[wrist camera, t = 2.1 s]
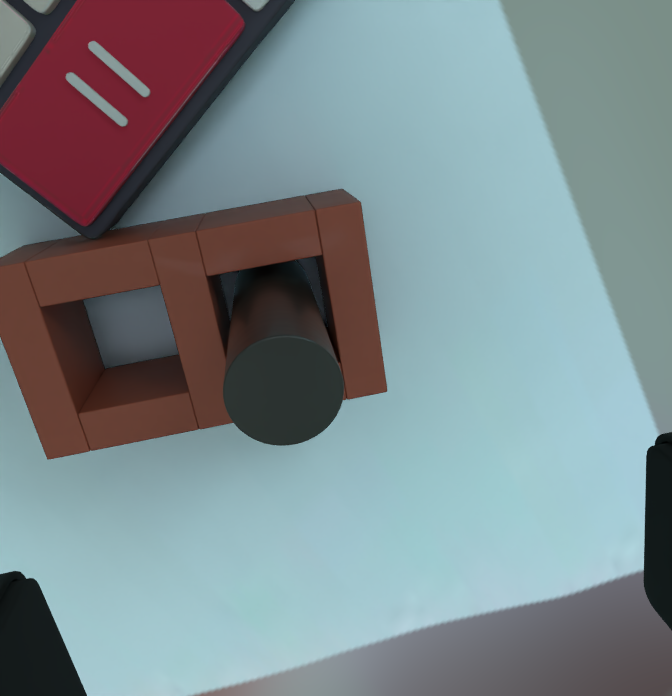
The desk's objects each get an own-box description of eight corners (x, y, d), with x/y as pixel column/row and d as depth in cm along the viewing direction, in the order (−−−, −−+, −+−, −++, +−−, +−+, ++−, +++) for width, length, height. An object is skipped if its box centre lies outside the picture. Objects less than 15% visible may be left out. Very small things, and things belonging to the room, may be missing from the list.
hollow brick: (79, 408, 30) (46, 460, 25) (22, 245, 27) (-26, 270, 22) (367, 351, 31) (387, 392, 26) (343, 188, 28) (361, 201, 23)
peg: (243, 331, 30) (237, 456, 19) (226, 260, 28) (210, 348, 17) (315, 317, 30) (352, 433, 19) (302, 246, 29) (333, 324, 18)
